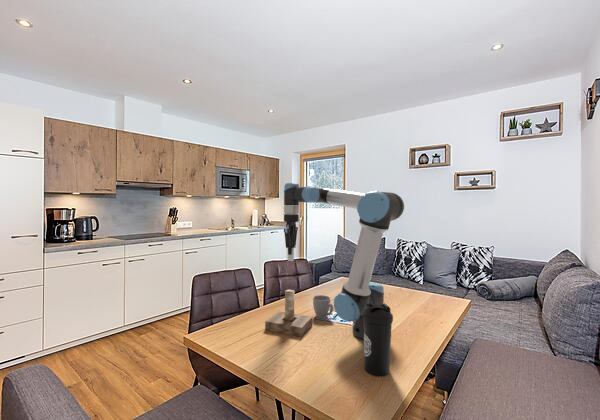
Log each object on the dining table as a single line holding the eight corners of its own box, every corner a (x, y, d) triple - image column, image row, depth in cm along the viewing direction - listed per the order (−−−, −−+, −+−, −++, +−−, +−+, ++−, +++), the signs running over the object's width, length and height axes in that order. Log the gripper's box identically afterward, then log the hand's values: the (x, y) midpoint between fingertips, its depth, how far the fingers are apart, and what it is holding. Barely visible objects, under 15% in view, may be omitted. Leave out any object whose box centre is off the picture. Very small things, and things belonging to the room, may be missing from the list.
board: (312, 324, 145) (312, 316, 144) (301, 336, 132) (301, 327, 131) (278, 319, 151) (278, 311, 151) (265, 329, 138) (265, 321, 138)
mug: (309, 315, 156) (309, 297, 156) (321, 311, 162) (321, 294, 162) (326, 322, 148) (326, 303, 147) (338, 318, 153) (338, 299, 153)
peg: (295, 324, 143) (296, 290, 142) (291, 327, 138) (292, 292, 138) (286, 322, 144) (287, 289, 144) (282, 325, 140) (283, 291, 140)
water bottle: (358, 362, 111) (359, 300, 110) (385, 361, 111) (386, 300, 111) (367, 378, 100) (368, 310, 100) (396, 377, 101) (397, 309, 101)
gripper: (289, 213, 159) (289, 258, 159) (278, 214, 146) (278, 262, 147) (302, 213, 156) (302, 259, 156) (293, 214, 144) (292, 263, 144)
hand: (290, 260), depth 152 cm, fingers closed
